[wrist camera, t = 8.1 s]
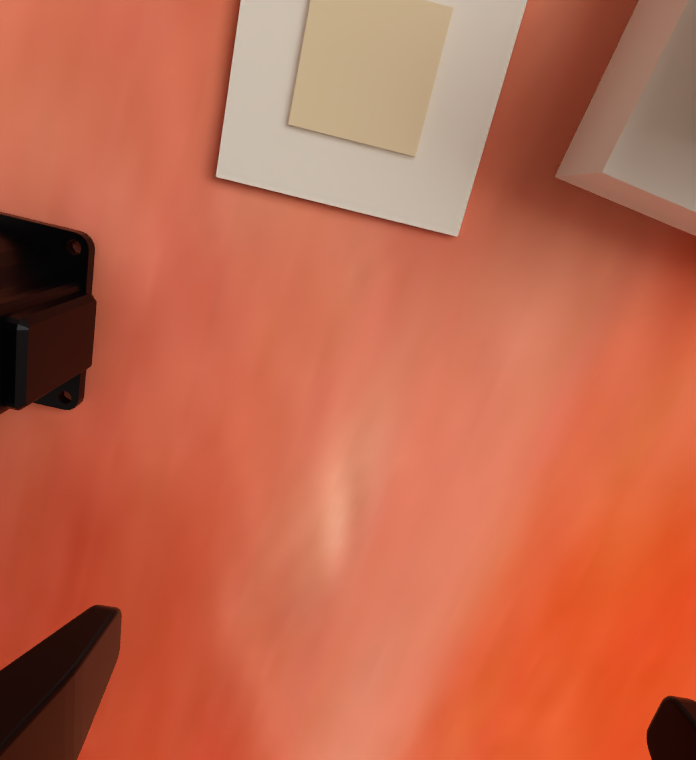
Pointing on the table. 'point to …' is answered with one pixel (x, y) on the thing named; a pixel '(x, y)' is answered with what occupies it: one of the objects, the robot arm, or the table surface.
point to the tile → (367, 102)
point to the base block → (644, 119)
